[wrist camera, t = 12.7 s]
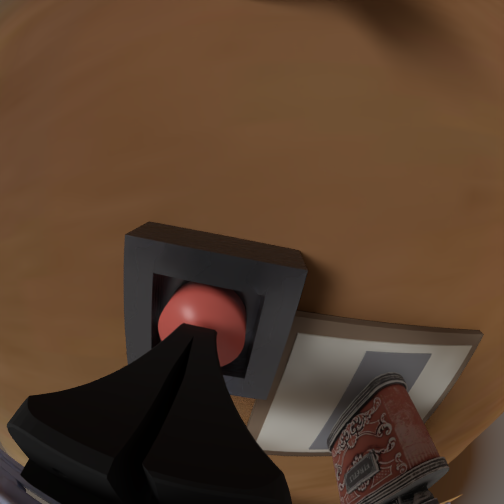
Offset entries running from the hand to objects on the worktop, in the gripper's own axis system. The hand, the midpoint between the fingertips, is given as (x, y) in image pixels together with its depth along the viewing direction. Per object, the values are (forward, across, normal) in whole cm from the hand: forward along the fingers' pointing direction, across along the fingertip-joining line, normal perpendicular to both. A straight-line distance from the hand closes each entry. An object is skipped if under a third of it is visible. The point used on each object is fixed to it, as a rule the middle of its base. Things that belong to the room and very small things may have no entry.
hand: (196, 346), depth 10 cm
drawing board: (+3, -11, +6) cm, 13 cm away
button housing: (+3, 0, 0) cm, 4 cm away
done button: (+2, 0, 0) cm, 2 cm away
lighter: (+3, -11, +6) cm, 13 cm away
